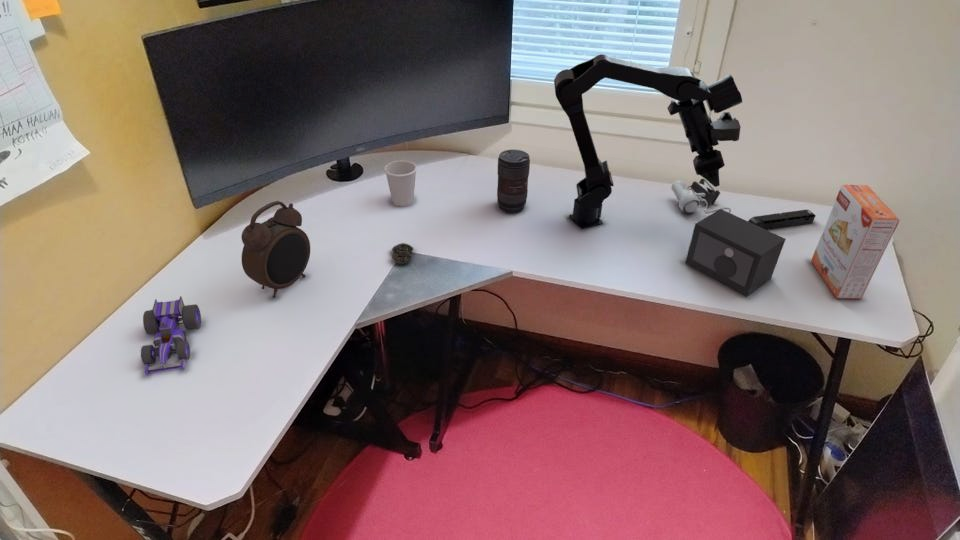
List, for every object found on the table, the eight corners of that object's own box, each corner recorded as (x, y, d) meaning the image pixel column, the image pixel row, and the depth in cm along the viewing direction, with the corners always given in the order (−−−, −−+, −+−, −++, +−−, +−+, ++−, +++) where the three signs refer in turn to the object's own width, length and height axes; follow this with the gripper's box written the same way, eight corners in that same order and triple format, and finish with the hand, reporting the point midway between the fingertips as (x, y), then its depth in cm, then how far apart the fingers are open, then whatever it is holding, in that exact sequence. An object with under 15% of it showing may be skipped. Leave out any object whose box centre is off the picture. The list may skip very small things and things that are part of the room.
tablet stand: (751, 232, 155) (755, 222, 153) (746, 226, 157) (749, 216, 155) (813, 223, 158) (817, 213, 157) (806, 218, 160) (810, 208, 159)
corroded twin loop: (390, 266, 141) (390, 262, 141) (392, 246, 148) (392, 243, 147) (412, 265, 142) (412, 262, 141) (413, 246, 148) (413, 242, 147)
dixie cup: (401, 190, 170) (399, 157, 164) (425, 199, 166) (423, 166, 160) (380, 202, 164) (377, 168, 158) (404, 212, 161) (401, 178, 155)
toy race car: (137, 377, 113) (125, 351, 110) (153, 324, 125) (142, 299, 121) (192, 369, 115) (183, 343, 111) (202, 317, 127) (194, 292, 123)
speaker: (683, 264, 144) (693, 224, 137) (709, 247, 149) (720, 208, 143) (745, 297, 134) (760, 256, 127) (770, 279, 140) (785, 238, 133)
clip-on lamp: (732, 234, 159) (700, 188, 171) (744, 216, 155) (710, 170, 166) (693, 237, 156) (663, 189, 167) (703, 218, 151) (672, 171, 163)
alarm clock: (272, 308, 129) (252, 228, 117) (248, 296, 132) (226, 217, 120) (320, 273, 139) (307, 196, 127) (297, 262, 142) (282, 186, 130)
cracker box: (808, 261, 145) (840, 183, 133) (834, 262, 145) (869, 183, 132) (833, 299, 134) (871, 217, 121) (861, 300, 134) (902, 218, 121)
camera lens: (532, 204, 164) (536, 153, 155) (517, 218, 159) (520, 165, 150) (506, 196, 168) (508, 145, 159) (490, 209, 162) (492, 157, 153)
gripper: (738, 126, 130) (756, 185, 138) (726, 90, 145) (743, 145, 152) (685, 145, 135) (706, 201, 143) (678, 108, 149) (697, 160, 157)
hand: (714, 175), depth 149 cm, fingers open, 9 cm apart
